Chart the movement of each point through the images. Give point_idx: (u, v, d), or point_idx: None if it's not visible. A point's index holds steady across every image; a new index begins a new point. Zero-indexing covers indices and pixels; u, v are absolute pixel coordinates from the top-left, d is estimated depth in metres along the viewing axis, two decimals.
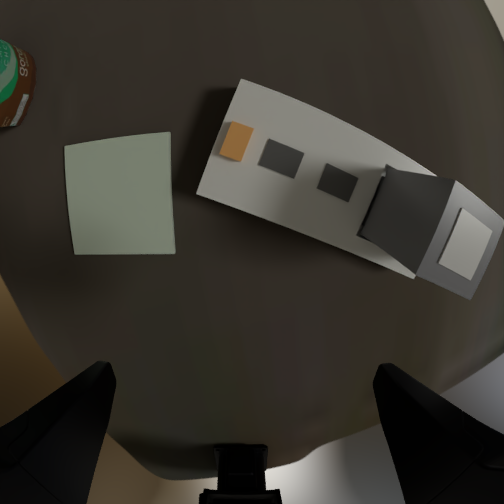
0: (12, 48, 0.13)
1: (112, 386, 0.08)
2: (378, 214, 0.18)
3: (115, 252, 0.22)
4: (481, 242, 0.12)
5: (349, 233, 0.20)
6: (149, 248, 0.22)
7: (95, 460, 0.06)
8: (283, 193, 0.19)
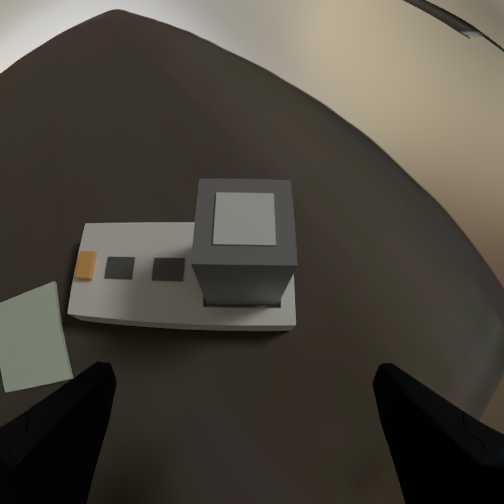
0: None
1: (112, 386, 0.08)
2: None
3: (31, 385, 0.19)
4: (265, 207, 0.15)
5: (195, 307, 0.20)
6: (53, 376, 0.19)
7: (95, 460, 0.06)
8: (127, 293, 0.21)
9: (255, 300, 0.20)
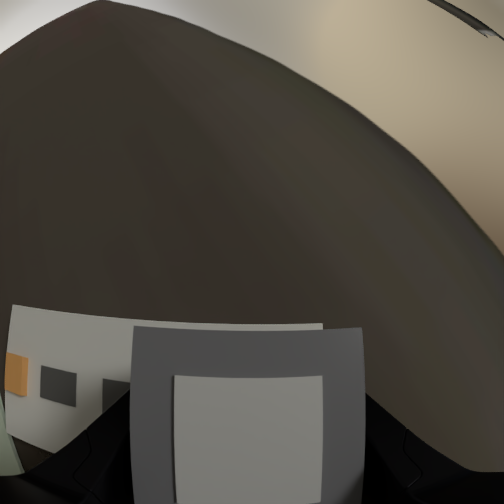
0: None
1: None
2: None
3: None
4: (301, 416, 0.05)
5: None
6: None
7: None
8: (72, 426, 0.11)
9: None
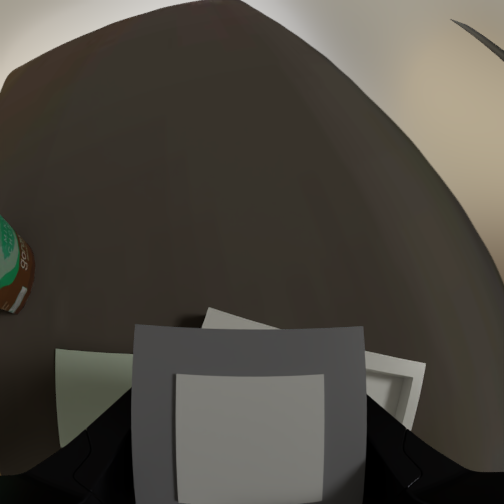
0: (16, 237, 0.21)
1: None
2: None
3: None
4: (302, 414, 0.05)
5: None
6: None
7: None
8: None
9: None
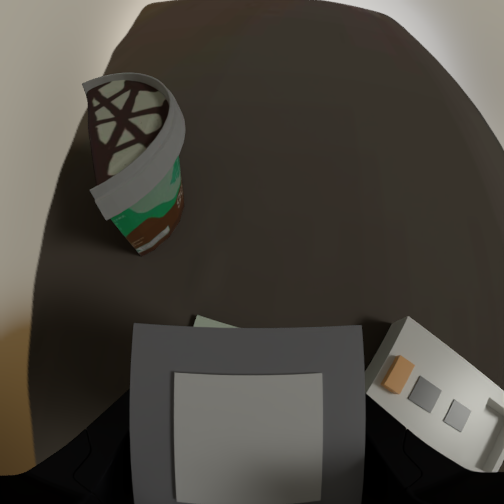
0: None
1: None
2: None
3: None
4: (301, 413, 0.05)
5: (455, 457, 0.14)
6: None
7: None
8: (419, 425, 0.15)
9: None
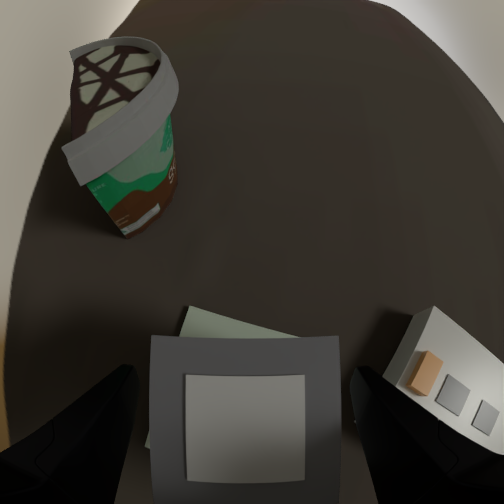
0: None
1: (136, 390, 0.08)
2: None
3: None
4: (287, 407, 0.07)
5: None
6: None
7: (121, 466, 0.06)
8: None
9: None
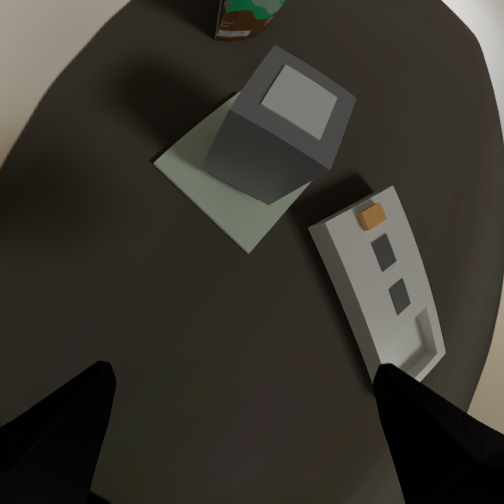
0: None
1: (112, 386, 0.08)
2: None
3: (197, 201, 0.19)
4: (324, 104, 0.13)
5: (385, 338, 0.21)
6: (233, 228, 0.20)
7: (95, 460, 0.06)
8: (371, 275, 0.21)
9: (251, 188, 0.18)
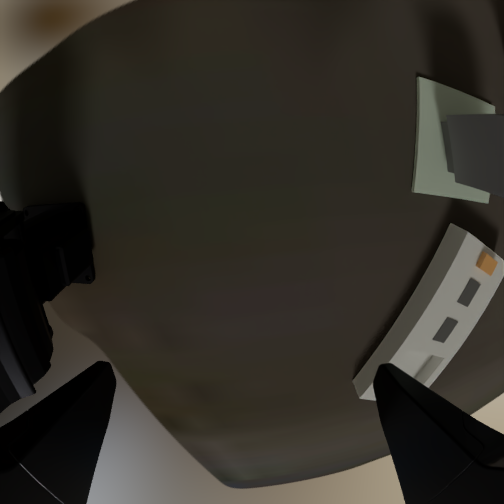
0: None
1: (112, 386, 0.08)
2: None
3: (420, 127, 0.18)
4: None
5: (412, 344, 0.22)
6: (421, 167, 0.19)
7: (95, 460, 0.06)
8: (451, 295, 0.20)
9: (461, 161, 0.16)
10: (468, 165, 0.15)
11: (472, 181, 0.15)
